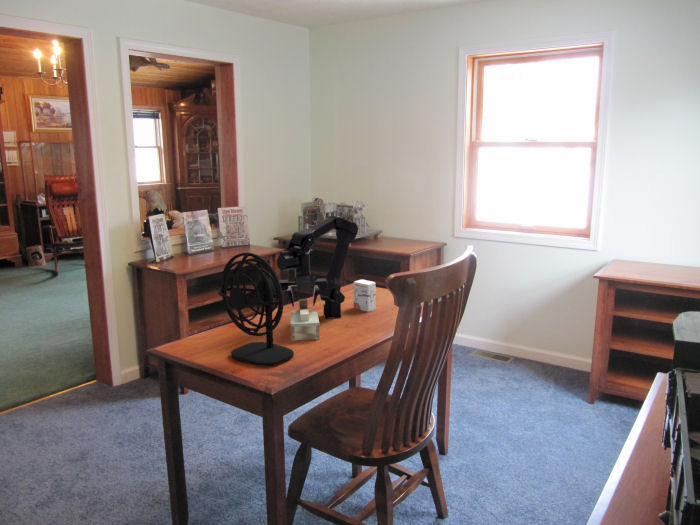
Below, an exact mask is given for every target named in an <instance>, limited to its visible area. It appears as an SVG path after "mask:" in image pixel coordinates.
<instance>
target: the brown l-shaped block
mask: <svg viewBox="0 0 700 525" xmlns="http://www.w3.org/2000/svg"><path fill="white" fill-rule="evenodd" d="M298 300H299V301H298V302H299V303H298V305H299V307H298V308H299V309H300V310H305V309H308V305H309V304H308V298H300V299H298Z"/></svg>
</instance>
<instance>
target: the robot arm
mask: <svg viewBox="0 0 700 525" xmlns="http://www.w3.org/2000/svg"><path fill="white" fill-rule="evenodd" d="M332 230H335V237H336V241H337V242H336V244H335V248H334V251H333V256H332V257H331V262H330V266H329V268H328V271H327V275H326V276H325V277H321V278H316V277H315V275H311V254H314V253H315V250H314V249H312V246H314V245H315V244H316V241H317V240H318V239H319V238H321V237H322V236H324V235H325V234H327V233H329V232H331V231H332ZM358 232H359V227H358V224H357V223H356V222H354V221H349V220H347V219H344V218H342V217H341V216H337V215H329V216H327V218H325V219H324V220H322V221H320V222H318V223H317V224H315V225H313V226H312V227H310V228H308V229H304V230H300V231H297V232H294V233H293V234H292V235H291V239H290V240H289V243H288V245H287V246H286V249H285V251H279V255H278V256H277V259H276V267H277V269H279V270H280V271H281V272H283V271H288V270H289V271H290V270H293V269H294V281H291V282H290V281H289V279H279V281H280V284H281V287H282V291H283V293H286V294H287V295H288V297H289V300H290V303H291V305H292V308H294V307H295V301H294V295H293V290H292V288H296V290H297V291H302V290H303V291H304V290H306V291H309V290H310V289H311V287H313V296H312V297H313V298H312V307H314V306H315V304H316V301H317V299H318V296H319V297H320V300H321V301H322V302H323V301H324V303H323V305H322V306H323V307H322V308H323V309H322V313H323V316H324V318H325V319H337V318H338V319H341V318H342V313H341V312H342V303H344V302H345V299H346V296H345V295H344V294H343V292H342V291H341V287H342V286H341V285H342V284H341V281H340V277H341V274H342V270H343V267H344V265H345V264H344V263H345V260H346V257H347V254H348V251H349V246H350V244H352V243H353V241H354V240H355V239H356V237H357V235H358Z"/></svg>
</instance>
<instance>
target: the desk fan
mask: <svg viewBox="0 0 700 525" xmlns="http://www.w3.org/2000/svg"><path fill="white" fill-rule="evenodd" d="M240 257H242V259H241V260H239V261H235V260H236V259H238V258H240ZM248 257H252V258H248ZM247 258H248V259H247ZM234 261H235V262H234ZM253 262H254V263H253ZM255 263H256V264H255ZM244 264H246V265H248V266H250V267H252V268H253V269H250V270H249V271H248V272H247V273H246V274H245V273H242V270H243V267H244ZM234 266H235V268H234V269H233V271H232V274H231V275H230V276H229V277H228V274H229V272H230V271H231V270H232V268H233V267H234ZM262 266H263V267H264V268H265V269H263V267H262ZM223 268H224V269H223V271H222V274H221V281H220V288H219V289H218V292H217V293H218V295H219V296H220V297H221V299H222V302H223V306H224V308H225V311H226V313H227V315H228V317H229V318H230V320H231V321H232V322H233V324H234V325H235V326H236V327H237V328H238V330H241V332H243V333H244V334H247V335H249V336H251V337H263V336H265V339H266V341H253V342H249V343H246V344H243V345H240V346H239V347H236V348H234V349H232V350H231V351H230V356H231V357H232V358H233V359H235V360H237V361H240V362H244V363H246V364H247V363H248V364H250V365H253V366H258V367H271V366H272V367H273V366H276V365H280V364H282V363H284V362H286V361H289V360H290V359H292V358H293V357H294V355H295V353H294V352H295V351H294V350H293V349H292V348H290V347H286V346H284V345H283V346H282V345H279V344H275V343H274V330H275V329H276V328H277V327H278V325H279V323H280V322H281V319H282V317H283V316H282V315H283V313H284V306H285V304H284V302H285V301H284V300H285V298H284V291H283V290H282V287H281V284H280V281H279V280H280V279H279V277H278V275H277V273H276V272H275V269H274V268H273V267H272V265H271V264H270V263H269V262H268V261H267V260H266V259H264V257H262V256H260V255H258V254H257V253H253V252H242V253H238V254H236V255H234V256H232V257H231V258H230V259H229V260H228V261H227V263H226V264H225V266H224V267H223ZM254 271H257V272H258V273H259V275H260V280H258V281H257V283H256V282H254V280H253V279H252V278H251V277H250V274H251V273H252V272H254ZM236 276H237V277H236ZM241 276H242V277H244V280H243V284H242V287H240V284H241V283H240V282H241ZM227 277H228V278H227ZM268 277H269V278H268ZM235 278H236V286H235ZM247 280H248V281H249V282H250V283H251V285H252V286H253V288H249V287H247V286H246V285H247ZM229 282H230V287H228V285H229ZM227 292H229V295H228V294H227ZM247 292H251V293H256V297H257V300H250V299H248V295H247ZM274 300H275V301H274ZM246 304H247V305H248V307H249V308H250V309H251V311H253V312H254V315H253V316H252V317H251V318H249V319H248V318H247V316H245V314H244V313H243V312H242V310H244V309H245V307H246ZM252 305H256V306H257V307H256V309H255V307H253V306H252ZM231 306H232V307H233V308H234V309H235V310H236V312H237V313H238V315H237V314H235V312H234V311H233V310H232V307H231ZM260 307H261V311H260ZM276 309H277V311H276V313H275V315H274V317H273V313H274V311H275V310H276ZM257 315H260V317H259V321H258V324H257V323H255V322H253V320H255V318H256V317H257ZM264 316H265V321H264V322H263V319H264ZM245 323H247V324H248V325H250V326H252V327H249V326H246V325H245ZM263 328H265V331H264V332H259V331H260V330H261V329H263Z"/></svg>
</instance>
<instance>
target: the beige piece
mask: <svg viewBox="0 0 700 525" xmlns="http://www.w3.org/2000/svg"><path fill="white" fill-rule="evenodd" d="M310 307H311V306H310ZM310 307H308V311H309V312H311V308H310ZM299 312H300V309H299V307H297V308H296V313H299ZM320 329H321V328H320V325H319V326H297V327H291V326H290V339H291V340H290V341H308V340H310V339H312V340H320V339H321V338H320V336H321V335H320V333H321V332H320ZM310 341H311V340H310Z"/></svg>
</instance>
